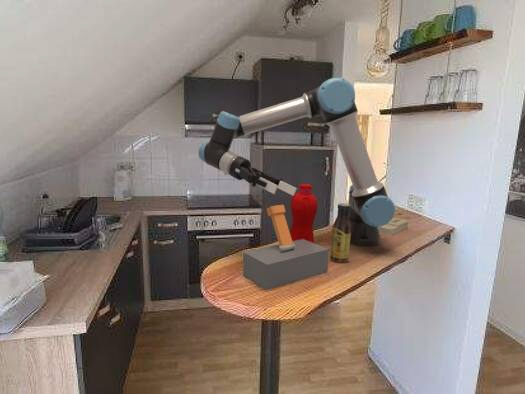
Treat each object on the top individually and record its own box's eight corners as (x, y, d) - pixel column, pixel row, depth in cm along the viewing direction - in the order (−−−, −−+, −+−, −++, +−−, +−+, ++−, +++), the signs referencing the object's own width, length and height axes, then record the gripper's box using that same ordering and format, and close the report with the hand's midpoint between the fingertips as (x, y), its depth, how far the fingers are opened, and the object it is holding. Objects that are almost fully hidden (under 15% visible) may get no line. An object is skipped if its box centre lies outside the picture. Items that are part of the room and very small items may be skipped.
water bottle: (309, 245, 134) (315, 181, 128) (315, 256, 123) (321, 187, 117) (285, 244, 133) (290, 180, 128) (289, 256, 123) (294, 186, 117)
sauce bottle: (326, 257, 122) (329, 202, 119) (341, 255, 125) (345, 201, 121) (336, 264, 116) (340, 206, 113) (352, 262, 119) (356, 205, 115)
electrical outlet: (376, 224, 155) (393, 217, 168) (375, 232, 156) (392, 225, 168) (391, 227, 150) (408, 220, 163) (390, 236, 151) (407, 229, 164)
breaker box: (301, 260, 120) (302, 239, 118) (327, 271, 110) (328, 249, 109) (242, 275, 106) (243, 251, 104) (266, 290, 96) (267, 264, 95)
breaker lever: (291, 249, 109) (278, 207, 112) (296, 247, 107) (283, 204, 110) (279, 252, 106) (266, 208, 109) (283, 250, 104) (270, 206, 107)
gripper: (250, 179, 131) (297, 202, 121) (209, 172, 110) (261, 200, 100) (258, 160, 130) (306, 182, 120) (217, 150, 108) (271, 176, 98)
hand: (286, 191), depth 110 cm, fingers open, 13 cm apart
